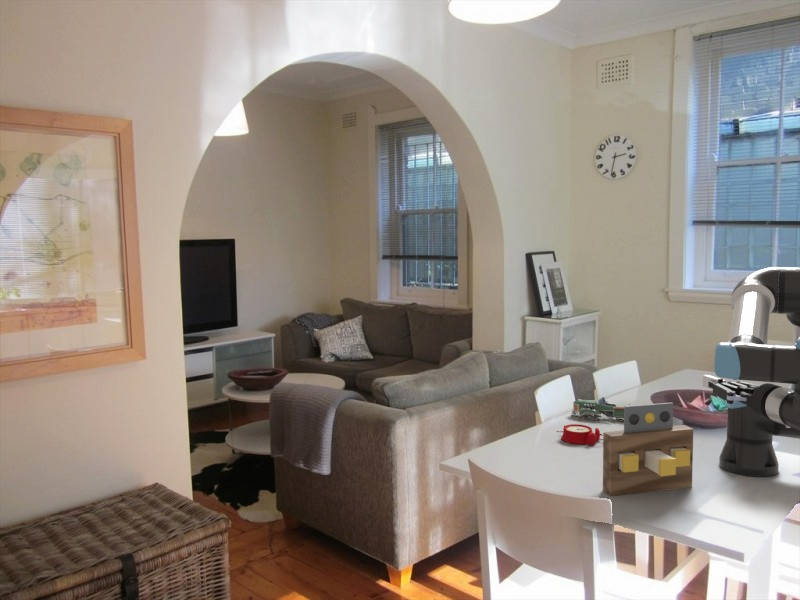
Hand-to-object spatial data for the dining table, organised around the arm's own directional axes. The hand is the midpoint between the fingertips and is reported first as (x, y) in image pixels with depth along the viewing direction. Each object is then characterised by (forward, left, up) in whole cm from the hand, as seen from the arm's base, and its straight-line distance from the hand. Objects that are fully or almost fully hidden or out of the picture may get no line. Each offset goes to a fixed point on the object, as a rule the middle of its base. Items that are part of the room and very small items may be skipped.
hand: (705, 380), depth 164 cm
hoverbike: (+30, -72, -32) cm, 84 cm away
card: (+13, -6, -16) cm, 21 cm away
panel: (+13, -6, -32) cm, 35 cm away
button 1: (+20, -2, -25) cm, 32 cm away
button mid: (+11, -2, -25) cm, 27 cm away
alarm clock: (+35, -43, -32) cm, 64 cm away
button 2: (+7, -10, -25) cm, 28 cm away
